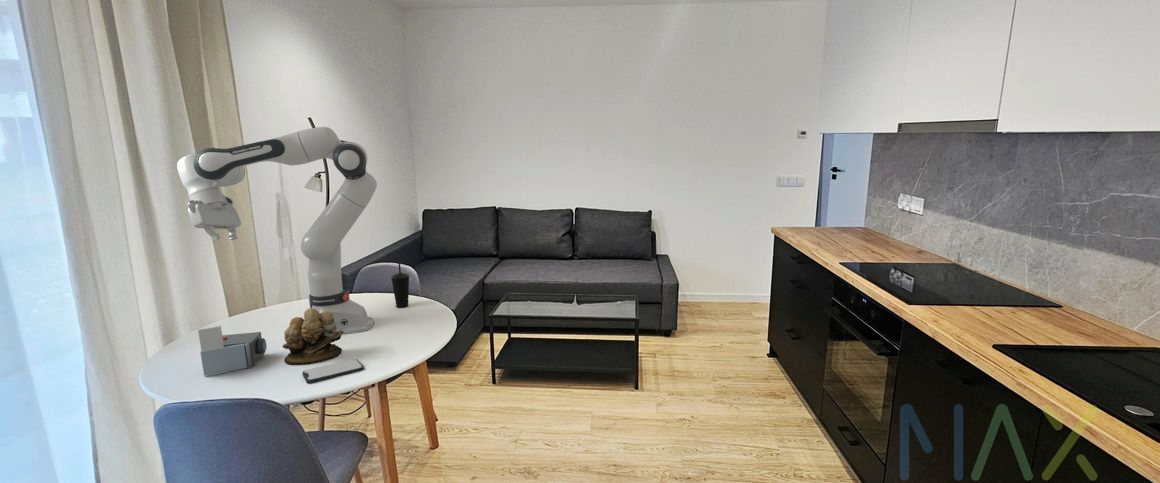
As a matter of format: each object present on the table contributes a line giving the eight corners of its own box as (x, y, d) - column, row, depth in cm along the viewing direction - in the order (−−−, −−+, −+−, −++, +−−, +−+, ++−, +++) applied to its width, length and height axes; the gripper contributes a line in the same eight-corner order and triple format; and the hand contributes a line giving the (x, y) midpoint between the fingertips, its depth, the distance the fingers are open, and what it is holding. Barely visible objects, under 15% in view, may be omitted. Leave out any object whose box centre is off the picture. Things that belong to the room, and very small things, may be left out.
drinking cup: (405, 309, 217) (402, 263, 213) (389, 308, 218) (385, 262, 214) (415, 304, 224) (412, 259, 220) (399, 303, 226) (395, 258, 222)
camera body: (270, 353, 172) (267, 329, 171) (261, 365, 163) (258, 340, 162) (219, 359, 168) (215, 334, 167) (207, 371, 159) (203, 345, 158)
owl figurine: (343, 345, 179) (339, 298, 176) (346, 358, 169) (342, 308, 166) (284, 355, 171) (278, 306, 168) (283, 369, 161) (277, 317, 157)
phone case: (357, 362, 167) (301, 375, 157) (356, 357, 167) (301, 370, 157) (364, 372, 160) (307, 386, 150) (364, 367, 160) (307, 380, 150)
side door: (252, 366, 163) (246, 321, 160) (252, 367, 162) (246, 322, 159) (204, 375, 156) (197, 328, 154) (204, 377, 155) (196, 330, 153)
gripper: (195, 195, 162) (214, 235, 162) (235, 200, 182) (252, 236, 183) (176, 203, 162) (195, 243, 162) (218, 207, 182) (235, 243, 182)
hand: (225, 239), depth 173 cm, fingers open, 8 cm apart
